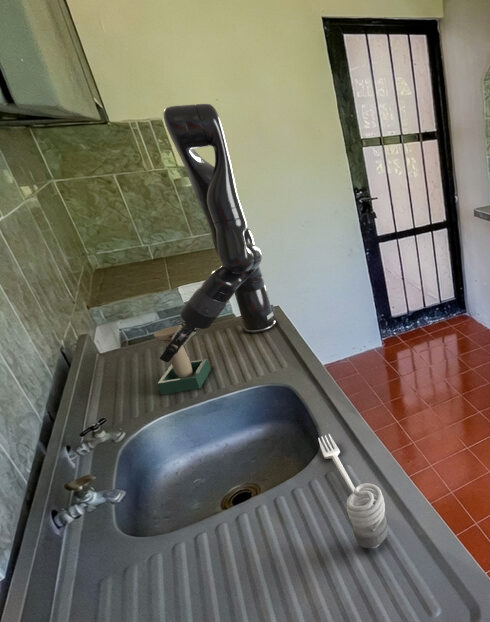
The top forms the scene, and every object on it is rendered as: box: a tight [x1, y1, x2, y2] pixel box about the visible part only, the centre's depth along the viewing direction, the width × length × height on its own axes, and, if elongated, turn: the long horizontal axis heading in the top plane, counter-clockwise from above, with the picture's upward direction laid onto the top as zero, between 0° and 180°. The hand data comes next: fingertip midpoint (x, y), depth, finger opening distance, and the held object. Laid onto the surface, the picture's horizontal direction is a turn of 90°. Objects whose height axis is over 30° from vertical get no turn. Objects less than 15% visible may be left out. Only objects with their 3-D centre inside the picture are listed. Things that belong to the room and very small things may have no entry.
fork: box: [317, 433, 356, 497], centre depth 91 cm, size 3×20×2 cm, turn 36°
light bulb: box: [346, 482, 389, 549], centre depth 72 cm, size 6×6×12 cm
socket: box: [156, 358, 212, 395], centre depth 122 cm, size 10×9×4 cm
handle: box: [153, 325, 193, 378], centre depth 119 cm, size 5×6×15 cm
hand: (170, 352), depth 119 cm, fingers open, 8 cm apart
